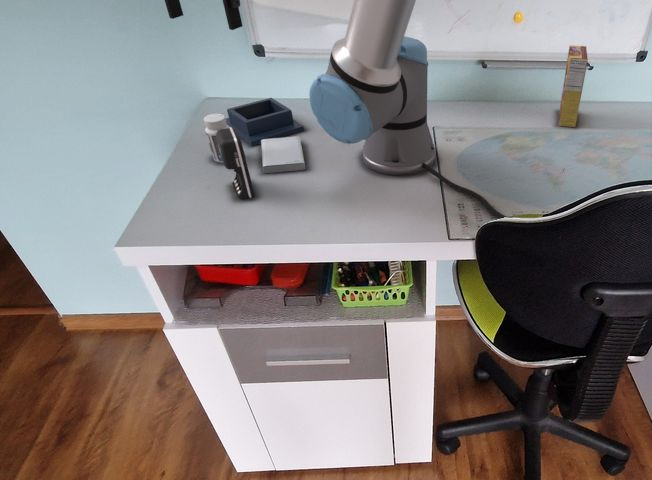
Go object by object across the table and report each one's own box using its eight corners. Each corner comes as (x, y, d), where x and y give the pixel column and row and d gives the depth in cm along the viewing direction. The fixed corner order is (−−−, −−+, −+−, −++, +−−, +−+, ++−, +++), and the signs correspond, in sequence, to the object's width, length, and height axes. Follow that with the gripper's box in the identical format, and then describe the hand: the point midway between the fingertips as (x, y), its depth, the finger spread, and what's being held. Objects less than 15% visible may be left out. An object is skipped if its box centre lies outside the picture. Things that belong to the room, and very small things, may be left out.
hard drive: (304, 162, 108) (299, 135, 116) (262, 166, 106) (260, 138, 115) (305, 170, 109) (300, 143, 118) (264, 174, 108) (262, 146, 116)
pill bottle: (242, 155, 113) (231, 115, 107) (228, 165, 109) (217, 124, 103) (222, 151, 114) (211, 110, 108) (208, 160, 110) (196, 120, 104)
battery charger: (228, 184, 104) (211, 126, 96) (248, 181, 105) (233, 123, 97) (234, 202, 100) (218, 142, 92) (255, 198, 101) (241, 139, 93)
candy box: (557, 111, 135) (569, 44, 124) (574, 112, 135) (588, 45, 124) (557, 126, 129) (569, 56, 118) (575, 127, 128) (589, 58, 117)
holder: (304, 130, 122) (301, 112, 119) (251, 146, 116) (247, 127, 113) (273, 110, 129) (269, 93, 126) (221, 124, 123) (217, 106, 120)
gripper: (247, -129, 82) (275, 27, 97) (123, -141, 89) (167, 7, 104) (213, -126, 77) (248, 38, 93) (85, -138, 84) (137, 17, 99)
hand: (205, 22), depth 98 cm, fingers open, 13 cm apart
